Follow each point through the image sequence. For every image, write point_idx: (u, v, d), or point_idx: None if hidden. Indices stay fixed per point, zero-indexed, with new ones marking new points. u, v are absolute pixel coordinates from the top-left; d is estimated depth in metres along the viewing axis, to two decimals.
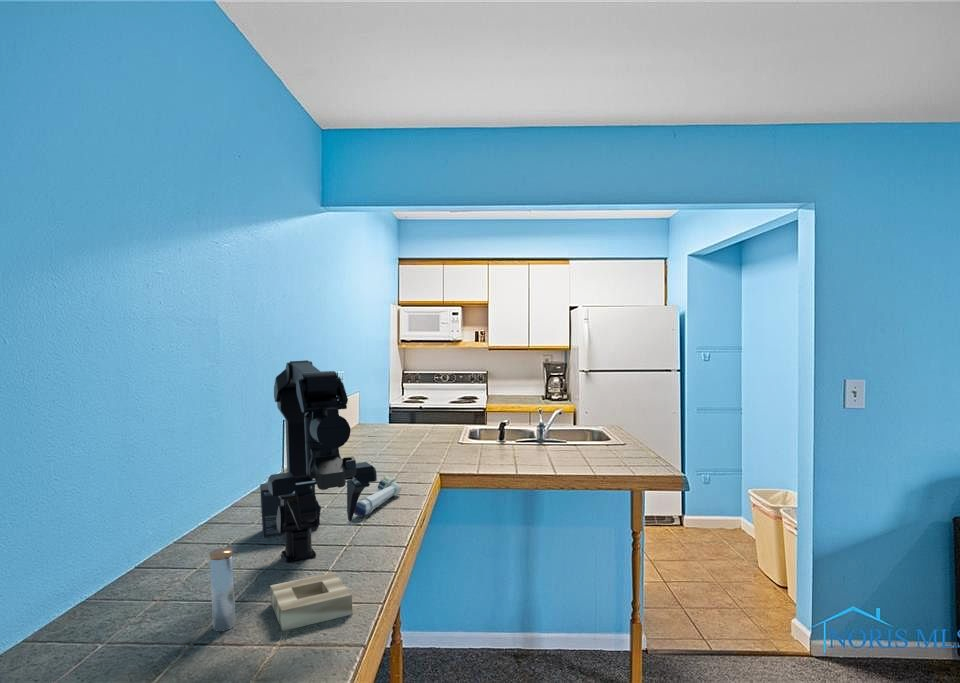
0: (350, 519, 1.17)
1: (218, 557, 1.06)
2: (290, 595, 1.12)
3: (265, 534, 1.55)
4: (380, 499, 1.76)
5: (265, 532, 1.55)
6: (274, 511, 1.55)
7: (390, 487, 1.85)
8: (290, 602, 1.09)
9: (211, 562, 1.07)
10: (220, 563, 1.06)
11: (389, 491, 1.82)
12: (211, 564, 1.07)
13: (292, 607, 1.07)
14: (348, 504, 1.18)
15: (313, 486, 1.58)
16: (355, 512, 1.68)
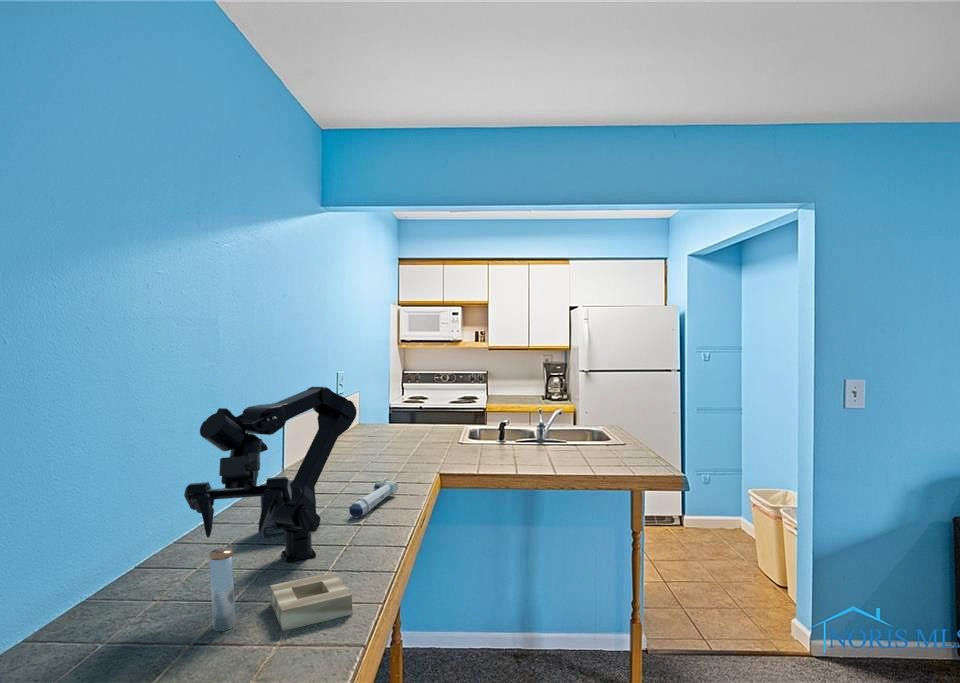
0: (259, 529, 1.17)
1: (218, 557, 1.06)
2: (290, 595, 1.12)
3: (265, 534, 1.55)
4: (375, 497, 1.76)
5: (265, 532, 1.55)
6: None
7: (385, 486, 1.85)
8: (290, 602, 1.09)
9: (211, 562, 1.07)
10: (220, 563, 1.06)
11: (384, 489, 1.83)
12: (211, 564, 1.07)
13: (292, 607, 1.07)
14: None
15: None
16: (353, 515, 1.68)
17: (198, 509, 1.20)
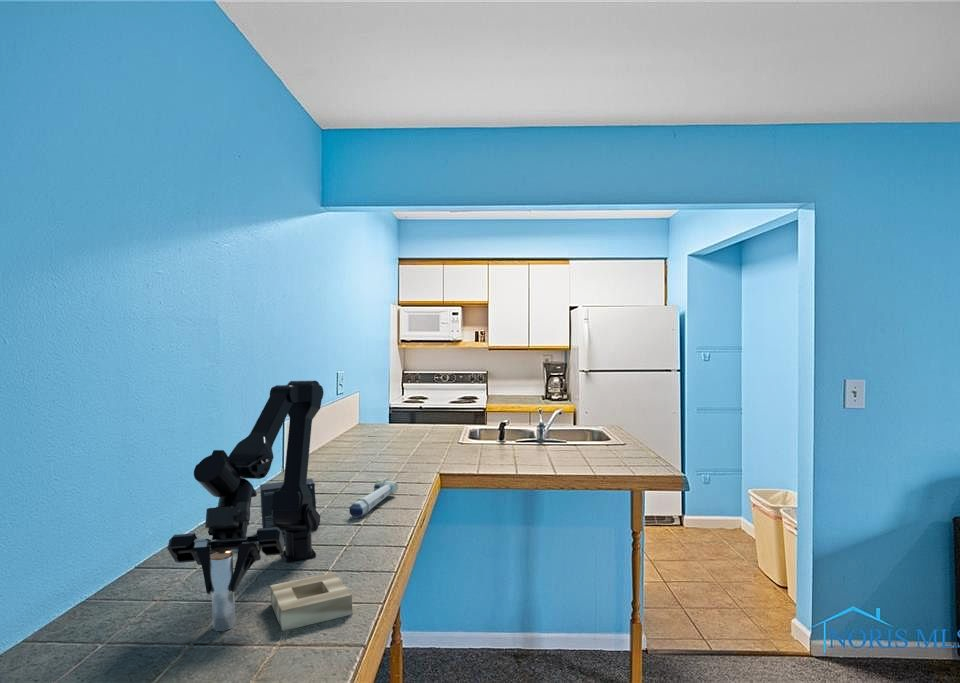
0: (232, 587, 1.07)
1: (218, 557, 1.06)
2: (290, 595, 1.12)
3: None
4: (375, 497, 1.76)
5: None
6: None
7: (385, 486, 1.85)
8: (290, 602, 1.09)
9: (211, 562, 1.07)
10: (220, 563, 1.06)
11: (384, 489, 1.83)
12: (211, 564, 1.07)
13: (292, 607, 1.07)
14: None
15: (313, 486, 1.59)
16: (353, 515, 1.68)
17: (198, 561, 1.12)
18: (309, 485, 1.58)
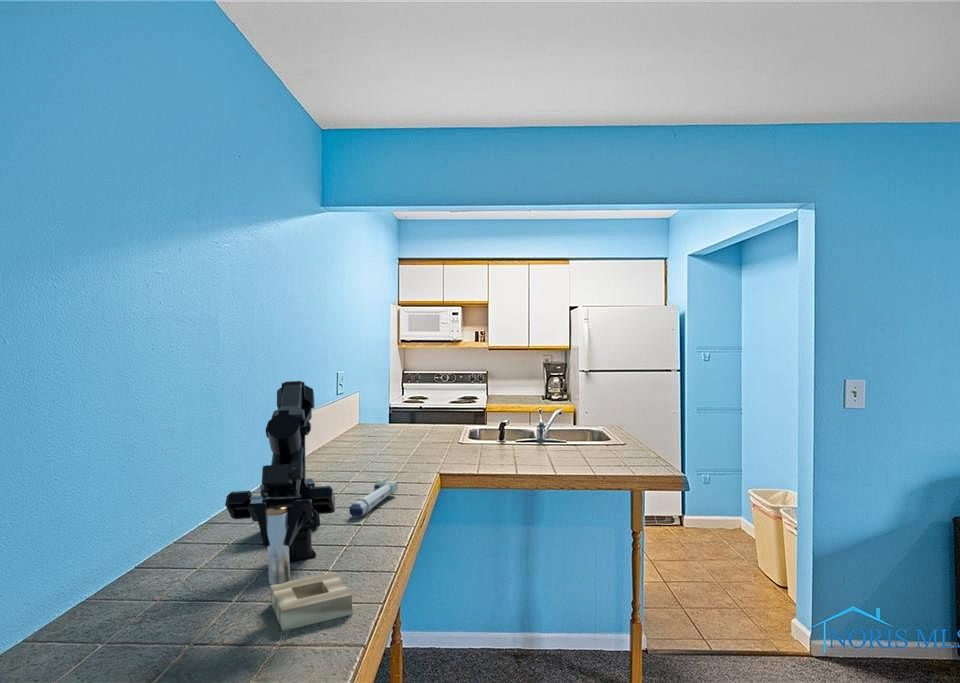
0: (287, 542, 1.11)
1: (274, 512, 1.10)
2: (290, 595, 1.12)
3: None
4: (375, 497, 1.76)
5: None
6: None
7: (385, 486, 1.85)
8: (290, 602, 1.09)
9: (267, 517, 1.10)
10: (276, 518, 1.10)
11: (384, 489, 1.83)
12: (267, 519, 1.10)
13: (292, 607, 1.07)
14: None
15: (313, 486, 1.59)
16: (353, 515, 1.68)
17: (254, 517, 1.15)
18: (309, 485, 1.58)
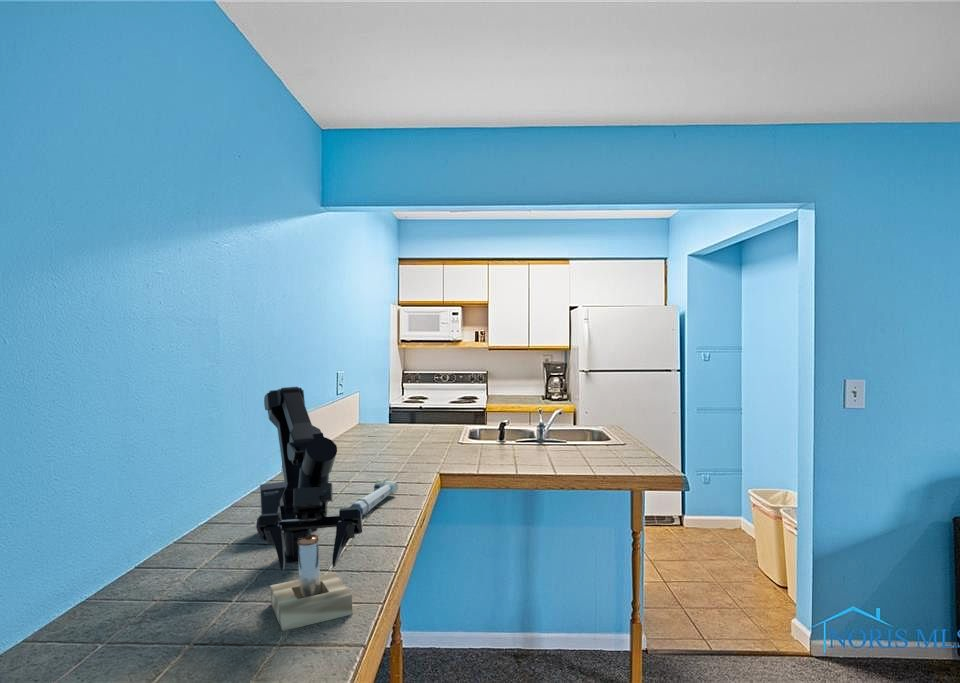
0: (333, 562, 1.13)
1: (306, 543, 1.12)
2: (290, 595, 1.12)
3: None
4: (375, 497, 1.76)
5: None
6: (274, 511, 1.55)
7: (385, 486, 1.85)
8: (290, 602, 1.09)
9: (300, 547, 1.13)
10: (308, 548, 1.12)
11: (384, 489, 1.83)
12: (299, 549, 1.13)
13: (292, 607, 1.07)
14: None
15: None
16: None
17: (270, 540, 1.17)
18: None
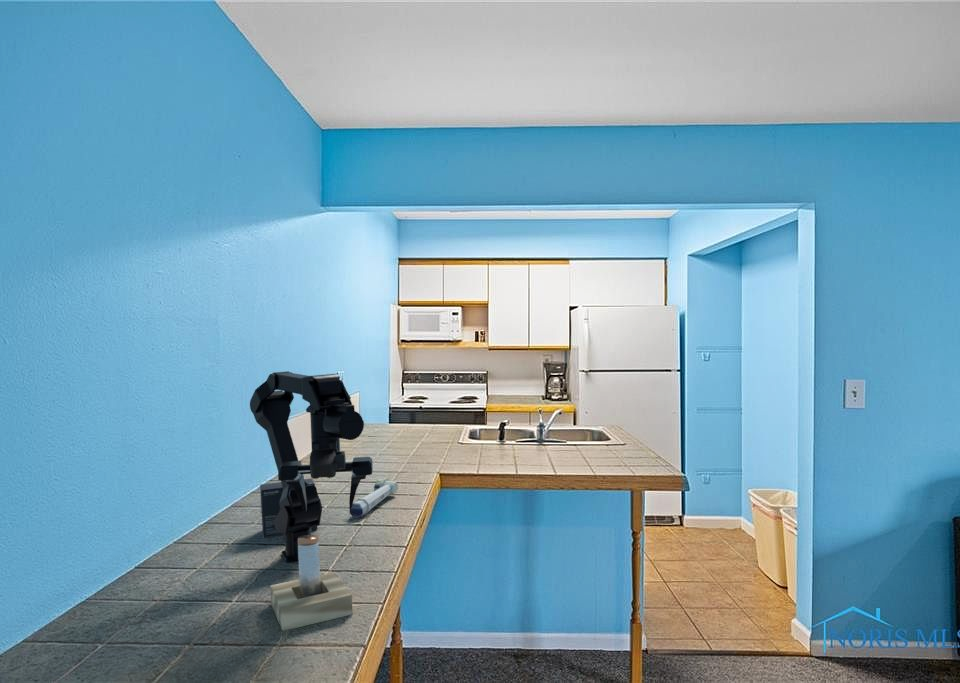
0: (350, 507, 1.32)
1: (307, 543, 1.12)
2: (290, 595, 1.12)
3: (265, 534, 1.55)
4: (375, 497, 1.76)
5: (265, 532, 1.55)
6: (274, 511, 1.55)
7: (385, 486, 1.85)
8: (290, 602, 1.09)
9: (300, 547, 1.13)
10: (308, 548, 1.12)
11: (384, 489, 1.83)
12: (300, 549, 1.13)
13: (292, 607, 1.07)
14: None
15: None
16: (353, 515, 1.68)
17: None
18: None
